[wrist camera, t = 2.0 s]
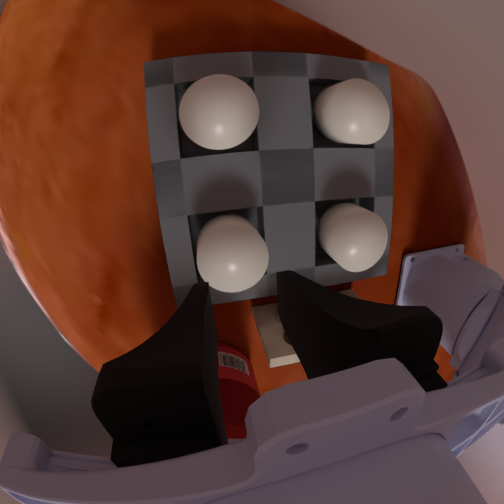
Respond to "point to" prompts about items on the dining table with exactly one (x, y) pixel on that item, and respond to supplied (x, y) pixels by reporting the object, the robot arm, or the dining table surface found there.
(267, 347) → the pattern plaque
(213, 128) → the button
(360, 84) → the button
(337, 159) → the button board
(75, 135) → the dining table surface
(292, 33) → the dining table surface
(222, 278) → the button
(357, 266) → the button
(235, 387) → the canned food
